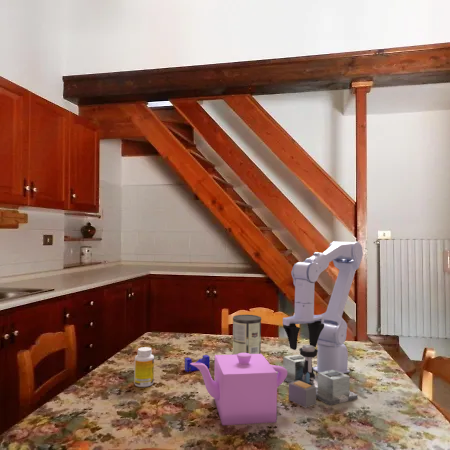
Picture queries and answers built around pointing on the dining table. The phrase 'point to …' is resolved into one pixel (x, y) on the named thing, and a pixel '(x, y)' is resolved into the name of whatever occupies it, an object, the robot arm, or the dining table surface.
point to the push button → (308, 362)
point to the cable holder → (190, 367)
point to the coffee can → (246, 334)
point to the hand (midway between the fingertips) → (303, 347)
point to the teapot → (244, 388)
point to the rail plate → (320, 381)
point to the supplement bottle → (144, 368)
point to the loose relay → (302, 393)
